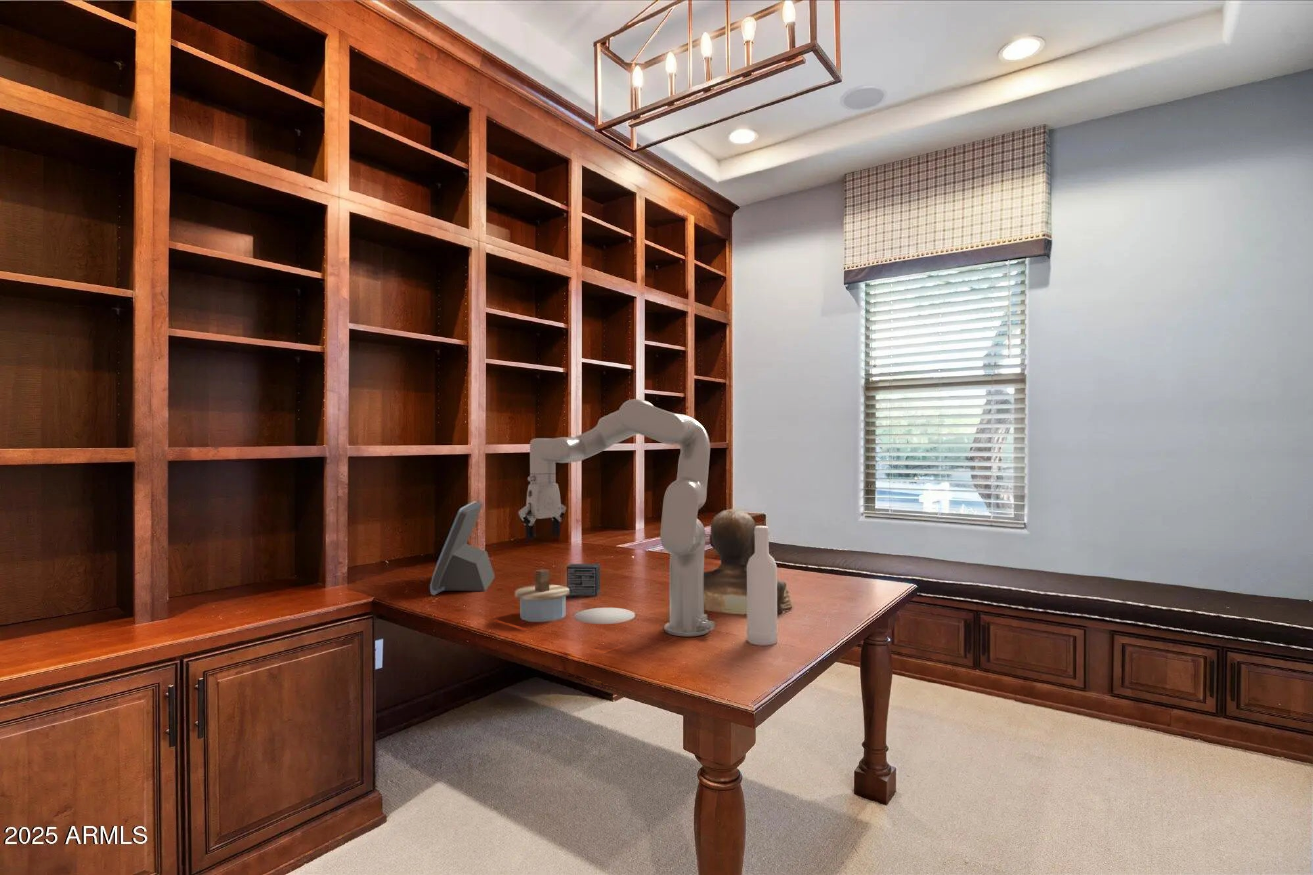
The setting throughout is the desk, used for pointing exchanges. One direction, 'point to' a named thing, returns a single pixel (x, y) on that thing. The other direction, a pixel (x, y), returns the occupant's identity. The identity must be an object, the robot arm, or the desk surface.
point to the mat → (604, 615)
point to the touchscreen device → (462, 557)
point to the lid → (542, 589)
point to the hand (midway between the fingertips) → (543, 536)
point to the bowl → (542, 610)
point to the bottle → (762, 592)
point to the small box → (583, 580)
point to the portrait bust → (734, 565)
